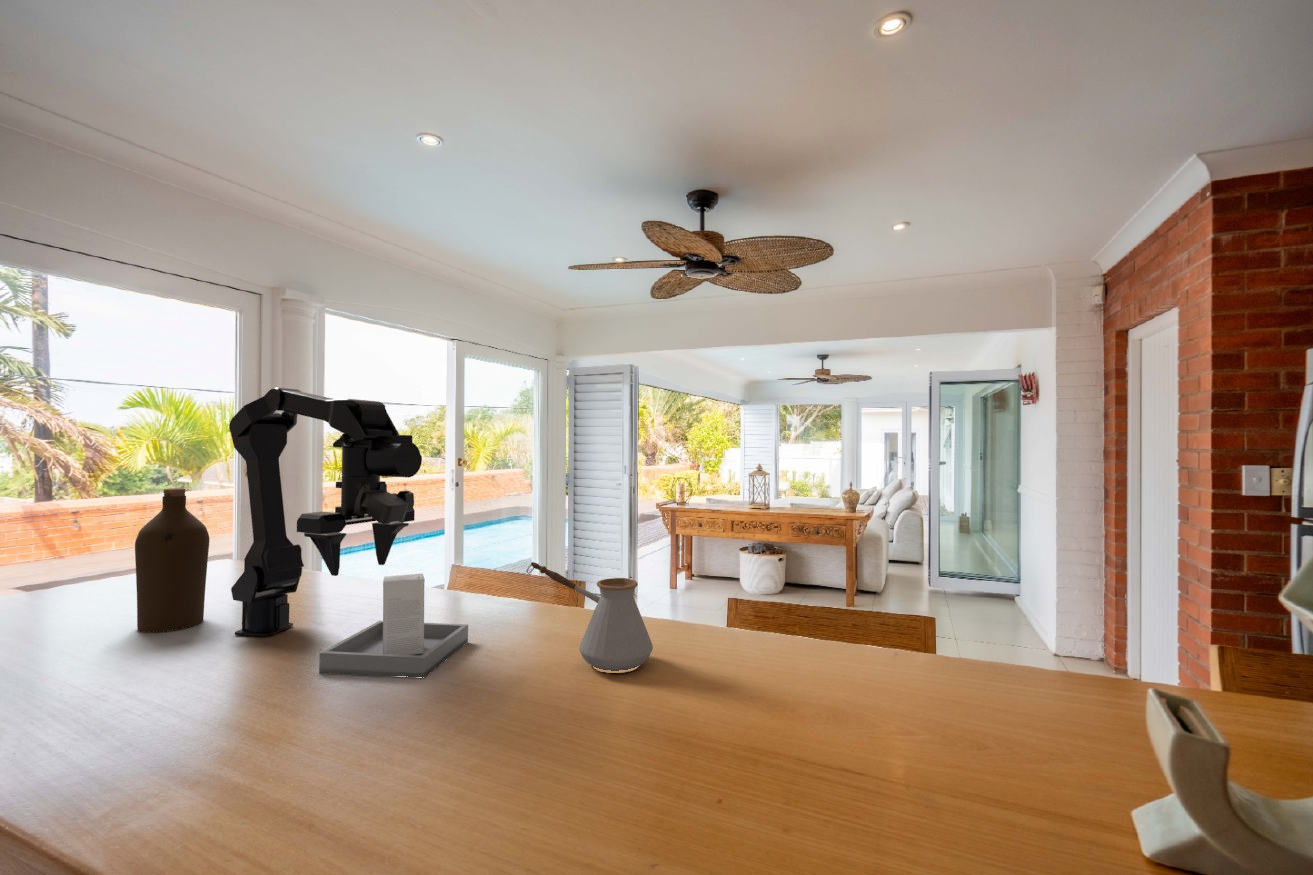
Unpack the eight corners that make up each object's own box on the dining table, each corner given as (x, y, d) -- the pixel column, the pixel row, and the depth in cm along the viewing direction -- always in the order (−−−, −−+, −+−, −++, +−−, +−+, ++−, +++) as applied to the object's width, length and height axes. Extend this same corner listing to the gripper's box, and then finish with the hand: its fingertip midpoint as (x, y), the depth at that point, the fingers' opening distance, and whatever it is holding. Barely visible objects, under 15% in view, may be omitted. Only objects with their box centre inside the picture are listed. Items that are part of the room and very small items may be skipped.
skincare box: (422, 645, 97) (424, 572, 97) (423, 654, 93) (425, 578, 94) (382, 650, 95) (383, 575, 95) (381, 659, 91) (383, 581, 91)
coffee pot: (661, 656, 96) (662, 564, 97) (639, 683, 85) (640, 579, 86) (543, 642, 103) (544, 555, 103) (508, 665, 92) (510, 568, 92)
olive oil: (219, 621, 111) (222, 488, 111) (150, 637, 101) (153, 491, 102) (189, 613, 116) (192, 485, 116) (121, 628, 106) (124, 488, 107)
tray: (319, 673, 87) (319, 652, 87) (378, 637, 103) (379, 620, 103) (423, 678, 86) (424, 657, 86) (467, 642, 102) (468, 624, 102)
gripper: (348, 480, 86) (346, 587, 86) (439, 474, 104) (438, 564, 104) (295, 477, 91) (293, 579, 90) (391, 472, 108) (389, 558, 108)
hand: (359, 569), depth 98 cm, fingers open, 9 cm apart
